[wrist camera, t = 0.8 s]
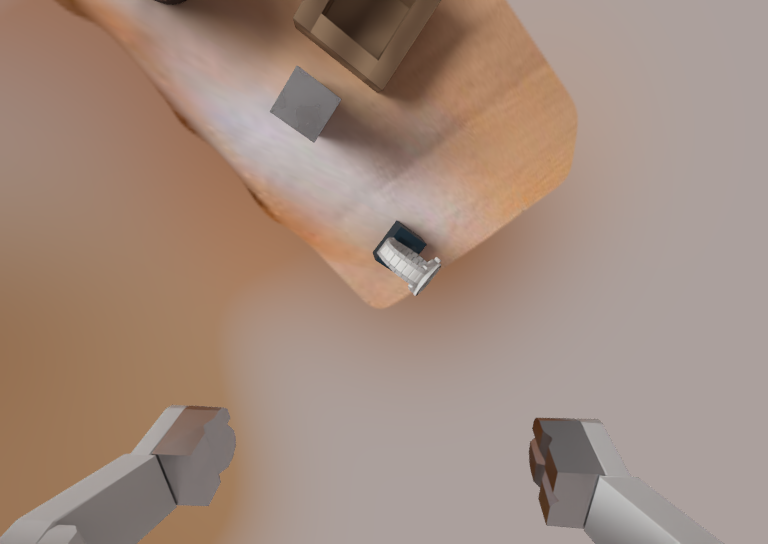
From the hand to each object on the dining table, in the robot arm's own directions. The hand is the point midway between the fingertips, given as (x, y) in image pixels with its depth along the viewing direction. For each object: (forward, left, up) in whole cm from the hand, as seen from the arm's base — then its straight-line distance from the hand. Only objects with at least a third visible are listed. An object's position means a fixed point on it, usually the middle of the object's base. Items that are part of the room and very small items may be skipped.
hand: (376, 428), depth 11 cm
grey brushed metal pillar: (-7, +6, -43) cm, 44 cm away
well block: (-7, +17, -43) cm, 47 cm away
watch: (+12, -2, -43) cm, 45 cm away
